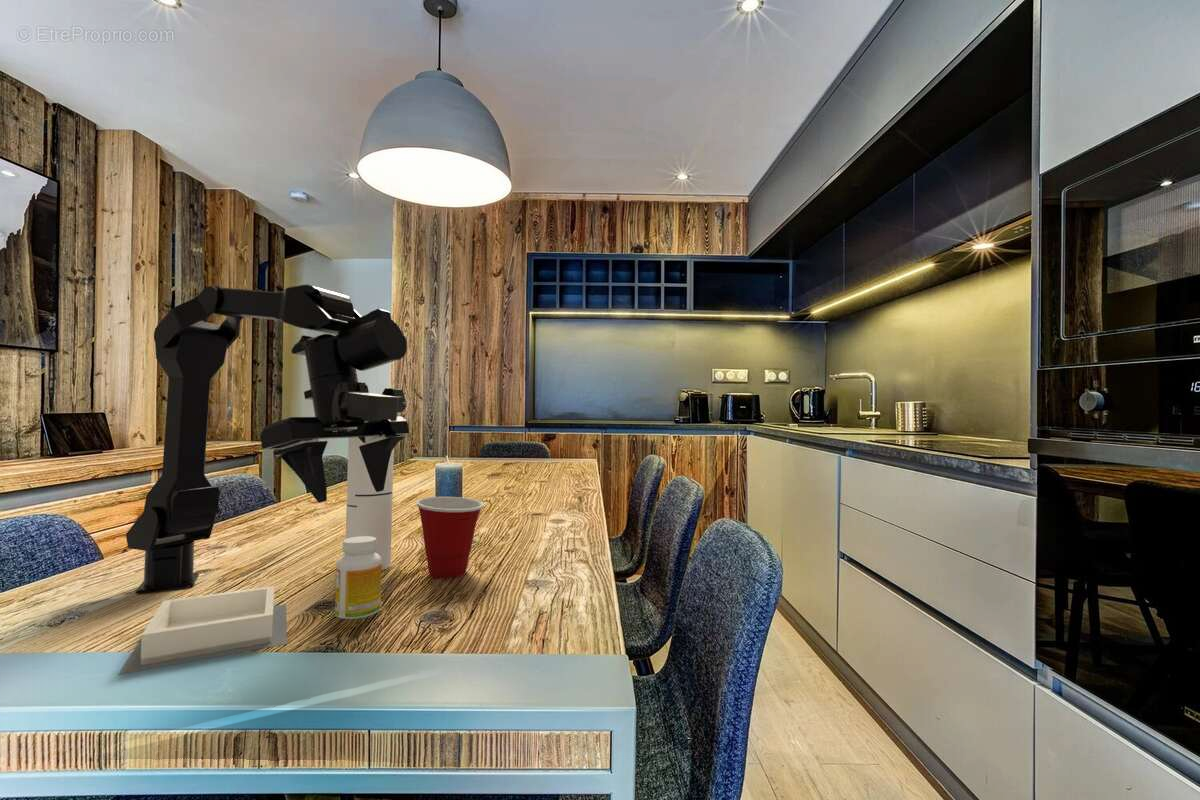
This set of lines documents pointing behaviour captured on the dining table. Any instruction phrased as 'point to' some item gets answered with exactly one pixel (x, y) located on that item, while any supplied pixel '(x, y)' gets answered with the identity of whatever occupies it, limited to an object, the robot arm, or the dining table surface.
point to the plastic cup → (448, 533)
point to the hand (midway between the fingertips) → (353, 496)
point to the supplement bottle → (358, 579)
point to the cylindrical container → (369, 503)
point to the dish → (208, 624)
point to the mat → (277, 639)
